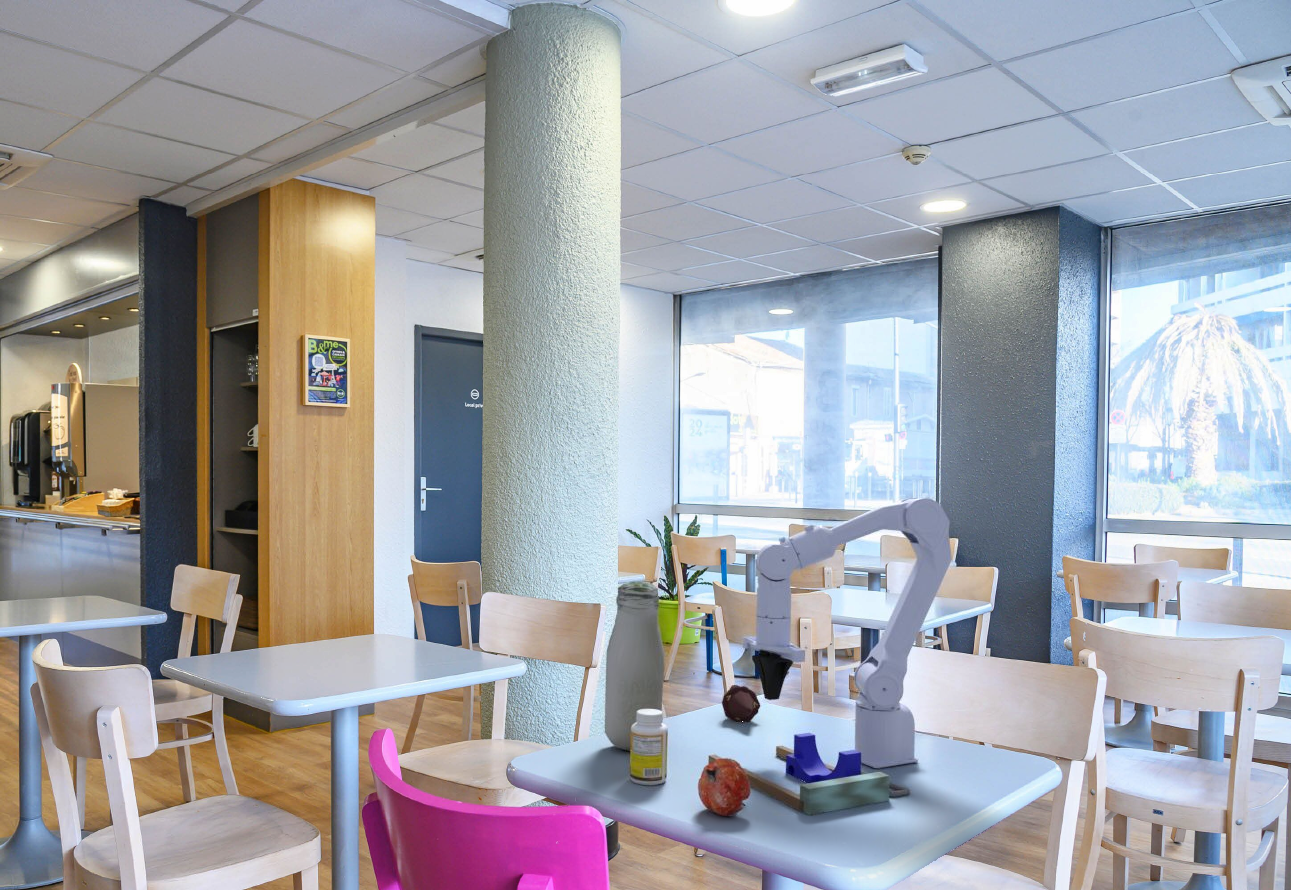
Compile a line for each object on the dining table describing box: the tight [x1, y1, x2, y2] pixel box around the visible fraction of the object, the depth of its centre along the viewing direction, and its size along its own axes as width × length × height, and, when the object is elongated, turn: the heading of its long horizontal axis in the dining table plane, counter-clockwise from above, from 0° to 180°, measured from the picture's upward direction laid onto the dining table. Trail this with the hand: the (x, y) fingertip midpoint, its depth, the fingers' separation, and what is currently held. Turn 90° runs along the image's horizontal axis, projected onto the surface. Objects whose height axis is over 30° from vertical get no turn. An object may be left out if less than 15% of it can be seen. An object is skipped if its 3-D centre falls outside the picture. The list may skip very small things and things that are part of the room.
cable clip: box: [785, 732, 862, 784], centre depth 139 cm, size 12×4×6 cm, turn 29°
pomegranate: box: [697, 757, 751, 817], centre depth 125 cm, size 7×7×10 cm
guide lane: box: [707, 745, 890, 816], centre depth 139 cm, size 15×25×4 cm, turn 29°
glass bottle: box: [604, 580, 666, 751], centre depth 155 cm, size 10×10×28 cm
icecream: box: [721, 684, 761, 723], centre depth 175 cm, size 7×7×15 cm
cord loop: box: [861, 769, 911, 798], centre depth 139 cm, size 4×13×1 cm, turn 29°
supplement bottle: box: [629, 709, 669, 786], centre depth 138 cm, size 6×6×10 cm
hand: (771, 698), depth 153 cm, fingers closed
